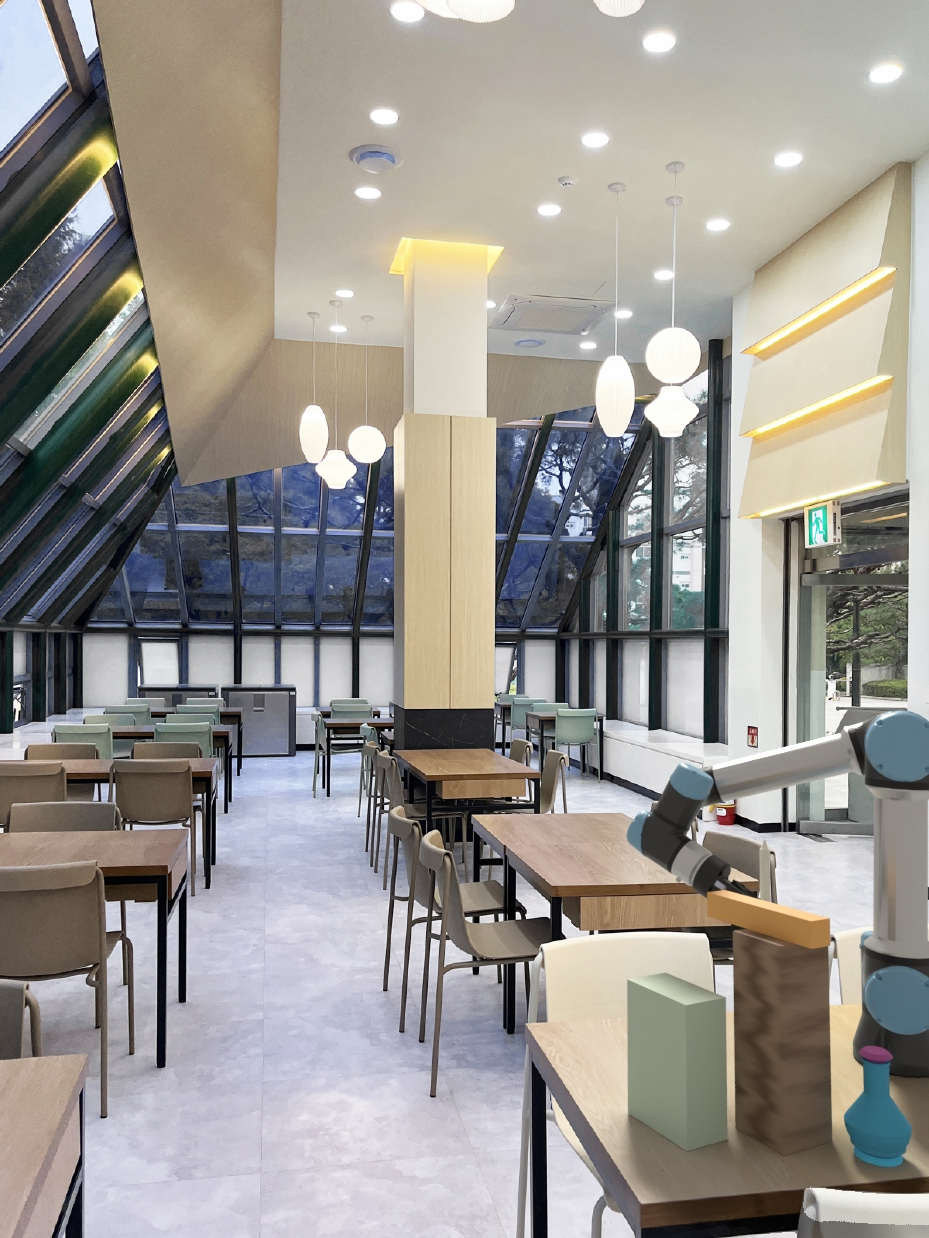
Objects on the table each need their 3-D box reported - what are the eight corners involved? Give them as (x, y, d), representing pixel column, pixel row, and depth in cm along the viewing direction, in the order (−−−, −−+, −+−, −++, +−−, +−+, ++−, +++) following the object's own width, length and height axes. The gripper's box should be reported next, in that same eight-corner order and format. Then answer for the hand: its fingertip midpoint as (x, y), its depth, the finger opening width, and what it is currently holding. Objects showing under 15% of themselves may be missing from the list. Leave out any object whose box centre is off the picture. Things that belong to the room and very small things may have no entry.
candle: (769, 1032, 186) (766, 842, 189) (731, 1017, 194) (729, 835, 197) (803, 1023, 191) (800, 838, 194) (765, 1009, 199) (762, 832, 202)
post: (735, 1126, 145) (732, 930, 148) (781, 1113, 150) (778, 923, 152) (784, 1155, 136) (781, 946, 139) (832, 1140, 141) (828, 938, 143)
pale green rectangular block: (627, 1112, 150) (627, 979, 151) (666, 1102, 154) (665, 972, 155) (687, 1151, 138) (685, 1005, 139) (727, 1139, 141) (725, 997, 143)
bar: (707, 916, 157) (707, 892, 157) (725, 913, 159) (724, 889, 159) (811, 948, 138) (811, 921, 138) (830, 945, 139) (829, 918, 140)
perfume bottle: (912, 1148, 139) (909, 1044, 140) (913, 1177, 131) (910, 1066, 132) (845, 1135, 143) (843, 1034, 144) (842, 1162, 135) (840, 1055, 136)
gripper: (710, 893, 182) (809, 962, 170) (671, 881, 162) (780, 957, 149) (729, 861, 182) (830, 926, 170) (693, 844, 162) (805, 917, 150)
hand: (807, 941), depth 160 cm, fingers open, 13 cm apart
